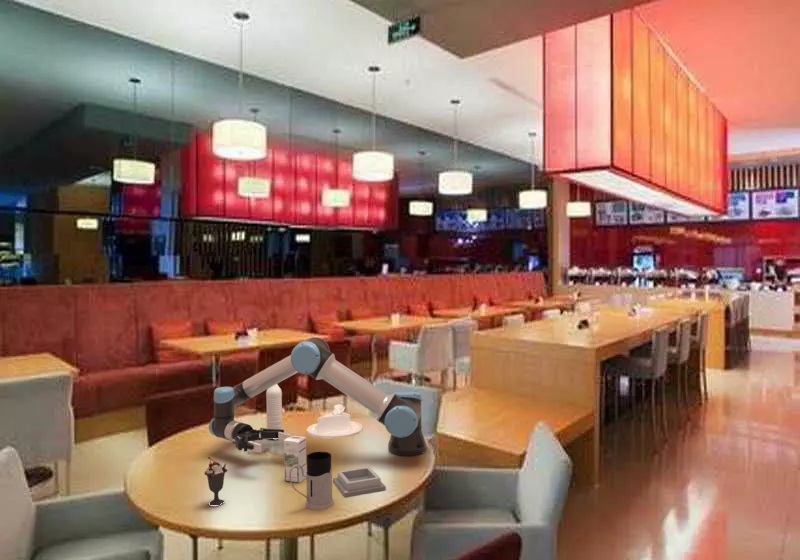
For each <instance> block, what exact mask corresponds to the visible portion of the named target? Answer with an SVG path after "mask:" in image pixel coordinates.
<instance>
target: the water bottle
mask: <svg viewBox="0 0 800 560" xmlns="http://www.w3.org/2000/svg"><path fill="white" fill-rule="evenodd" d="M265 393H266V394H265V396H266V429H281V430H283V405H282V403H283V402H282V401H283V400H282V399H283V398H282V397H283V392H282V388H280V386H279V385H278V383H277V384H276V385H274V386H272V387H270V388H268V389H266V392H265Z"/></svg>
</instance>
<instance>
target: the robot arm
mask: <svg viewBox="0 0 800 560" xmlns="http://www.w3.org/2000/svg"><path fill="white" fill-rule="evenodd" d="M297 373H299V374H301V375H308V376H310V377H312V378H313V379H314V380H316V381H318V380H323V381H324V382H326V383H328V384H330V385H331V386H333V387H334V388H335V389H336V390H339V391H340V392H341V393H342V394H344V395H346V396H347V397H349V398H350V399H352V400H353V401H355V402H357V403H358V404H359V405H361V406H362V407H364V408H365V409H367V410H368V411H370V412H372V413H373V414H374V415H375V418H376V421H377V422H379V423H381V424H382V425H383V426H385V429H386V431H387V432H388V433H389V434H390V437H389V442H388V444H387V451H388V450H389V451H388V452H389V453H390V452H391V453H390V454H392V453H393V454H392V455H395V454H396V455H397V456H401V455H404V456H405V457H406V456H408V457H409V456H410V455H413V456H417V455H421V454H424V453H425V452H426V451H427V443H426V442H427V441H426V440H425V436H424V434H423V429H422V427H423V426H422V401H423V400H422V394H421V393H420V392H417V391H416V392H415V391H396V392H393V393H391V394H389V393H386V392H384V391H383V390H382V389H380V388H379V387H377V386H376V385H374V384H373V383H371V382H370V381H368V380H367V379H365V378H363V377H362V376H361V375H360V374H357V373H356V372H354V370H351V369H350V368H348V367H347V366H346V365H344V364H342V362H340V361H338V360H336V357H335V354H334V353H333V352H332V351H331V350H330V346H329V344H328V343H327V342H326V341H325V340H324V339H322V338H321V337H310V338H308V339H306V340H303V341H301V342H298V344H296V345H295V347H293V349H292V351H291V354H290V355H289V356H286V357H285V358H283V359H280V360H279V361H277V362H276V363H274V364H271V365H270V366H268V367H267V368H265V369H263V370H261V371H259V372H257V373H255V374H254V375H252V376H251V377H249V378H247V379H245V380H244V381H241V382H240V383H238V384H236V385H234V386H233V387H232V386H221V387H217V388H215V389H214V391H213V418H211V420H210V422H209V424H208V430H209V433H210V434H211V435H213V436H215V437H217V438H220V439H225V440H227V441H229V442H232V444H234V445H235V446H236V449H237V451H242V450H243V452H248V450H249V451H253V452H256V453H260V454H261V453H262V444H260V443H258V442H254V441H262V440H264V439H265V440H266V439H267V440H268V439H273V438H278V440H277V441H283V442H284V440H285V439H286V438H288V437H290V436H293V435H292V434H288V433H286V432H285V430H284V429H282V430H281V429H267V428H264V427H261V428H259V429H254V428H253V426H252V425H251V424H248V423H244V422H241V421H237V420H235V408H236V407H238V406H240V405H241V404H243V403H245V402H246V401H248V400H251V399H252V398H254V397H255V396H257V395H259V394H261V393H263V392H264V391H267V389H268V388H270V387H272V386H274V385H276V384H277V385H278V384H279V383H281V382H282V381H285V380H286V379H288V378H290V377H292V376H293V375H296V374H297ZM396 455H395V456H396ZM404 456H403V457H404Z"/></svg>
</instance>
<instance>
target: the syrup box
mask: <svg viewBox="0 0 800 560" xmlns="http://www.w3.org/2000/svg"><path fill="white" fill-rule="evenodd" d="M283 455H284V456H283V457H284V459H283V461H284V481H285V482H289V481H290V478H289V472H290V469H291V468H292V467H293V466H294V465H300V466H302V468H303V471H304V476H306V472H307V437H306V436H298V435H292V436H290V437H288V438H286V439H285V440H284V441H283ZM305 479H306V477H303V476H302V470H301V468H300V467H299V466H296V467H294V468H293V469H292V471H291V480H292V483H297V484H300V483H302V481H304V480H305Z"/></svg>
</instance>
